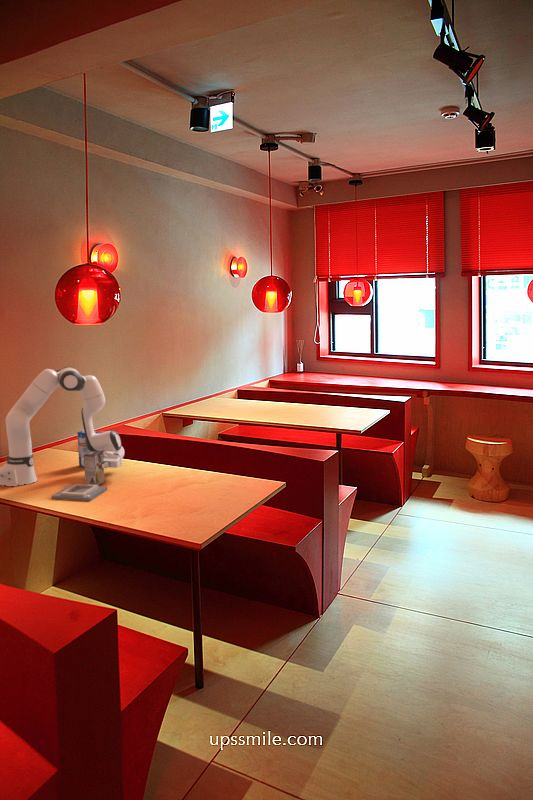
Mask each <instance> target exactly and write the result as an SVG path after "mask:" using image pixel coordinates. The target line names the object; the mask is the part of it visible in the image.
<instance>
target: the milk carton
mask: <svg viewBox="0 0 533 800" xmlns="http://www.w3.org/2000/svg"><path fill="white" fill-rule="evenodd" d="M94 432H95V433H100V431H98V430H94ZM76 433H77V448H78V450H77V451H78V466H81V467H80V468H84V466H82V464H81V459H83V458H84V455H85V454H87V453H89V452H91V451H89V450H88V449H87V447H86V439H85V432H84V429H82V430H80V431H77V432H76Z"/></svg>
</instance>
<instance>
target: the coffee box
mask: <svg viewBox="0 0 533 800" xmlns="http://www.w3.org/2000/svg"><path fill="white" fill-rule="evenodd" d="M103 451H104V450H102V451H91V452H89V453H87V454H85V455H84V467H83V468H84V482H85V483H84V484H90V485H98V486H100V484H102V483H103V482H105V468H100V464H104V463H103Z"/></svg>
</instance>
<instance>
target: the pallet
mask: <svg viewBox="0 0 533 800" xmlns="http://www.w3.org/2000/svg"><path fill="white" fill-rule="evenodd" d="M107 489H108V486H100V485H90V484H85V483H75V484H69V485H68V486H66V487H64V488H63V489H61V490H59V491H57V492H56V493H54V494H53V495H51V499H52V500H63V499H66V501H83V502H92V501H94V500H95V499H96V498H97V497H99V496H101V495H102V494H103V493H105V492H106V491H108V490H107Z"/></svg>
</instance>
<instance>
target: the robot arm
mask: <svg viewBox="0 0 533 800" xmlns="http://www.w3.org/2000/svg"><path fill="white" fill-rule="evenodd" d="M60 387H61V388H62V389H63V390H65V391H69V392H75V391H76V392H77V391H79V393H80V396H81V397H82V400H83V407H82V408H81V410H80V411H81V421H82V426H83V430H84V432H85V439H86V447H87V449H88V450H89V451H103V463H104V464H100V468H104V469H106V468H107V469H108V468H112V469H115V468H120V467H122V464H123V463H122V462H123V461H122V459H123V458H124V456H125V449H124V447H123V446H122V444H123V443H122V438H121V435H120V434H119V433H118V432H117V431H115V430H113V429H112V430H108V431H102V432H99V433H95V432H94V431H95V429H94V422H93V416H94V415H96V414H97V413H99V412H100V411H101V410H102V409H103V408H104V407H105V404H106V397H105V394H104V390H103V389H102V385H101V384H100V381H99V380H98V379H97V377H96V376H95V375H90V374H89V375H88V374H87V375H82V374H80V372H79V371H78V369H76V368H75V367H73V366H65V367H62V368H60V369H58V370H56V371H55V370H54V369H51V368H45V369H43V370H42V371H41V372H40V373H39V374H37V376H36V377H35V378H34V379H33V380H32V381H31V383H30V384H29V385H28V387H27V388H26V389H25V391H24V392H23V394H22V395H21V396H20V397H19V398H18V400H17V401H16V402H15V404H14V405H13V406H12V407H11V409H10V410H9V411H8V413H7V415H6V417H5V428H6V436H7V437H6V438H7V443H8V444H7V445H8V456H7V457H5V458H4V461H6V463H5V464H3V465H2V466H1V467H0V486H4V485H6V487H11V486H14V487H18V485H19V486H25V485H24V484H26V485H30V484H32V483H33V482H34V483H35V482H37V481H38V478H37V475H36V472H35V468H34V463H35V462H34V454H33V446H32V445H33V444H32V437H31V428H30V422H31V420H32V419H33V418H34V416H35V415H36V414H37V413H38V411H40V409H42V407H43V405H44V404H45V403H46V401H47V400H48V399H49V397H50V396H51V395H52V394H53V392H54V391H55V390H56V389H57V388H60ZM81 464H82V466H84V458H83V459H81Z"/></svg>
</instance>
